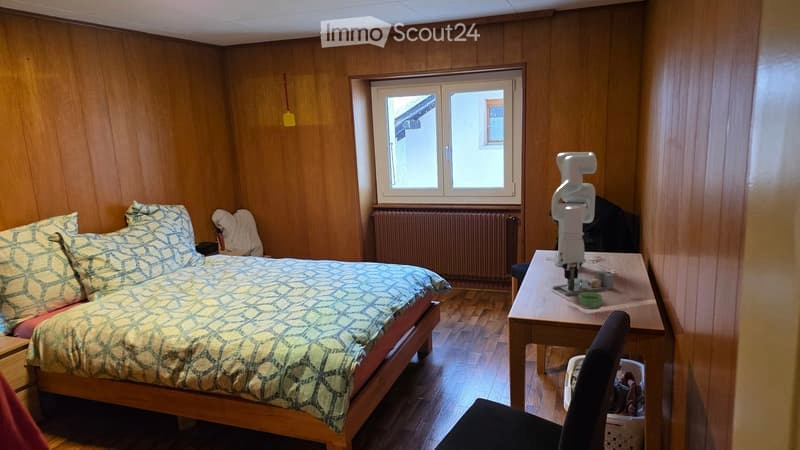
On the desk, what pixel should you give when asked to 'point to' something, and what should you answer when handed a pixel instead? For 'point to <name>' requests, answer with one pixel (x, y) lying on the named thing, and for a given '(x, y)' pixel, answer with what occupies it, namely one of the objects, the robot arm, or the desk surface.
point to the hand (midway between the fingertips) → (571, 277)
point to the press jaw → (575, 281)
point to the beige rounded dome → (596, 283)
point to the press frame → (606, 285)
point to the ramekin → (590, 299)
